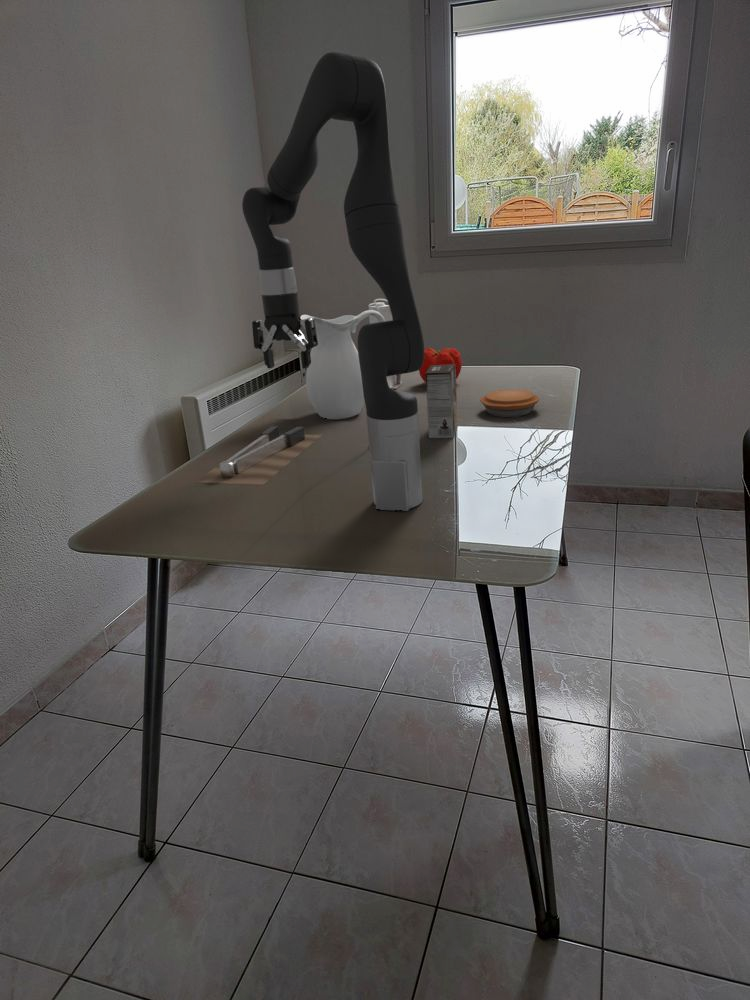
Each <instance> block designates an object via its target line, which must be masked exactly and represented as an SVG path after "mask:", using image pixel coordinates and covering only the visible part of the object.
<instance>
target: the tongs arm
mask: <svg viewBox="0 0 750 1000" xmlns="http://www.w3.org/2000/svg"><path fill="white" fill-rule="evenodd" d="M282 434H283V435H282V436H280V437H278V438H276V439H274V440H272V441H270V442H268V443H266V444H264V445H262V446H260V447H258V448H256V449H254V450H252V451H250V452H248V453H247V454H245V455H243V456H241V457H239V458H237V459H235V460H233V466H234V472H235V473H240V472H242V471H243V470H245V469H247V468H249V467H251V466H253V465H255V464H256V463H258V462H260V461H262V460H264V459H266V458H268V457H269V456H271V455H273V454H275V453H277V452H279V451H281V450H282V449H284V448H286V447H288V446H290V447H291V446H293V445H295V444H297V443H299V442H301V441H302V440H304V439H305V435H306V434H305V428H304V426H296V427H294V428H292V429H290V430H288V431H286V432H285V433H282Z"/></svg>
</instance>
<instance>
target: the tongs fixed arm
mask: <svg viewBox="0 0 750 1000" xmlns="http://www.w3.org/2000/svg"><path fill="white" fill-rule="evenodd" d="M279 434H280V430H279V426H277V425H276V426H275V425H273V426H272V425H271V426H270V427H268V428H267V429H266V430H264V431H262V432H261V433H260V436H261V437H260V436H259V437H260V438H259V437H257V438H258V439H257V438H256V439H257V440H256V439H254V440H255V441H254V440H253V441H254V442H253V441H252V442H253V443H251V442H250V443H251V444H250V443H249V444H250V445H249V444H247V445H248V446H247V445H246V446H247V447H246V446H245V448H244V447H243V448H244V449H243V448H242V450H241V449H240V450H241V451H240V450H239V451H240V452H238V451H237V452H238V453H237V452H236V453H237V454H235V453H234V454H235V455H234V454H233V455H234V456H233V455H231V456H232V457H231V456H230V457H231V458H230V457H228V458H229V459H228V458H227V459H228V460H227V459H226V460H227V461H225V460H224V461H221V462H220V463H219V465H220V470H221V476H222V478H223V479H229V478H233V477H234V476H235V472H234V466H233V460H235V459H237V458H239V457H241V456H243V455H245V454H247V453H248V452H250V451H252V450H254V449H256V448H258V447H260V446H262V445H264V444H266V443H268V442H270V441H272V440H274V439H276V438H278V437H280V435H279Z"/></svg>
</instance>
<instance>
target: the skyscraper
mask: <svg viewBox="0 0 750 1000" xmlns="http://www.w3.org/2000/svg"><path fill="white" fill-rule="evenodd" d="M377 301H380V302H377ZM381 301H383V302H381ZM385 302H386V303H388V301H387V299H386V298H376V299H374V300H373V302H372V303H371V302H370V303H369V304H368V310H374V311H377V312H379V313H380V314H381V315H382V316H383V317H384V319H385V321H393V318H392V314H391V310H390V307H389V304H385ZM368 317H369V324H371V323H378V322H379V321H378V320H377V318H375V317H373V316H368ZM401 376H402V374H398V375H392V376H386V377H387V382H388V386H389V387H390V388H391V389H397V388H398V387H399V386H400V385H401V384H402V385H403V382H402V377H401ZM402 385H401V386H402ZM401 386H400V387H401ZM400 387H399V388H400ZM399 388H398V389H399ZM398 389H397V390H398Z"/></svg>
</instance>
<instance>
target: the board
mask: <svg viewBox="0 0 750 1000" xmlns="http://www.w3.org/2000/svg"><path fill="white" fill-rule="evenodd" d="M283 434H284V433H282V434H280V433H279V435H280V436H282V435H283ZM304 435H305V439H304V440H302V441H301V442H299V443H297V444H295V445H293V446H291V447H290V446H288V447H286V448H284V449H282V450H281V451H279V452H277V453H275V454H273V455H271V456H269V457H268V458H266V459H264V460H262V461H260V462H258V463H256V464H255V465H253V466H251V467H249V468H247V469H245V470H243V471H242V472H240V473H235V476H234V477H233V478H229V479H223V478H222V476H221V470H220V464H218V465H217V466H216V467H213V468H212V469H211V470H209V471H208V472H206V473H205V474H204V475H202V476H201V477H199V478H198V479H197V480H195V481H194V483H196V484H197V483H202V484H221V485H222V484H225V485H226V484H228V485H229V484H230V485H248V486H250V485H252V486H264V485H265V484H266V483H267V482H268V481H269V480H271V479H272V478H273V477H274V476H276V475H277V474H278V473H279V472H280V471H282V470H283V469H284V468H286V466H287V465H288V464H290V463H291V462H292V461H293V460H294V459H296V458H297V457H298V456H299V455H301V454H302V453H303V452H304V451H305V450H306V449H307V448H308V447H310V446H311V445H312V444H313V443H314V442H316V441H317V440H318V439H319V438H320V437H321V436H322V435H323V434H304ZM260 437H261V435H260V436H258V437H257V438H256V439H254V440H253V441H252V442H250V443H248V444H247V445H246V446H245V447H247V446H248V445H250V444H251V443H253V442H254V441H255V440H257V439H258V438H260ZM245 447H243V448H242V449H244V448H245ZM242 449H240V450H238V451H237V452H236V453H234V454H233V455H231V456H230V457H228V458H227V459H225V460H224V461H227V460H228V459H229V458H231V457H232V456H234V455H235V454H237V453H238V452H240V451H241V450H242Z"/></svg>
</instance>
